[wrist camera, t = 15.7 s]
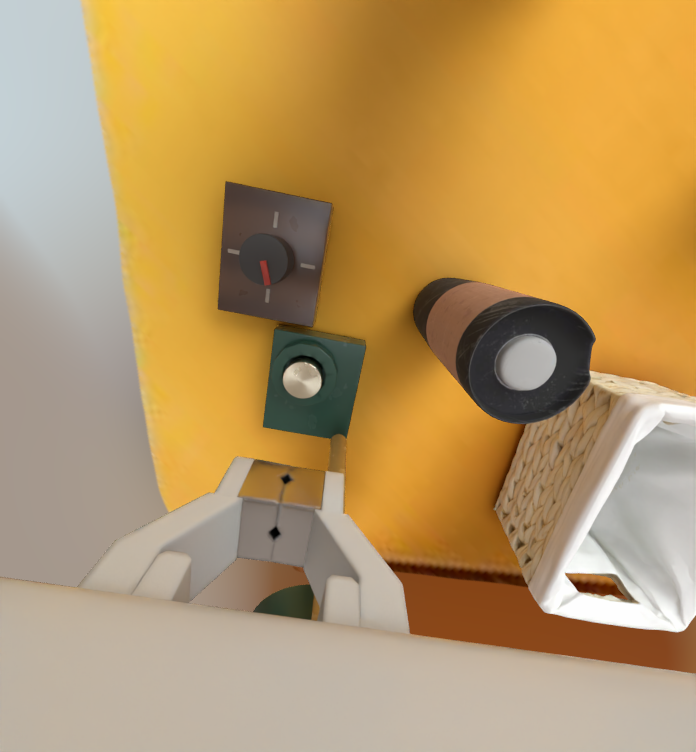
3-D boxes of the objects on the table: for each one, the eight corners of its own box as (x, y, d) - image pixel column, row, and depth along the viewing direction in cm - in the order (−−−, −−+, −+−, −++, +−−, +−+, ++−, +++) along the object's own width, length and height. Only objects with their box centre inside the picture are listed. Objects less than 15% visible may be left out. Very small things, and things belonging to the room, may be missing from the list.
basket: (547, 348, 40) (650, 400, 26) (678, 374, 41) (843, 437, 27) (481, 512, 48) (533, 617, 34) (591, 530, 49) (685, 640, 35)
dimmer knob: (244, 238, 34) (232, 237, 30) (289, 231, 33) (282, 229, 30) (254, 284, 35) (244, 288, 32) (297, 278, 35) (291, 282, 31)
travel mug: (396, 316, 39) (438, 378, 20) (443, 259, 37) (538, 270, 18) (445, 356, 41) (527, 448, 22) (493, 304, 39) (629, 357, 20)
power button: (288, 354, 37) (285, 358, 35) (325, 360, 37) (324, 366, 35) (283, 388, 38) (280, 395, 36) (319, 395, 38) (318, 401, 36)
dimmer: (235, 186, 35) (224, 180, 32) (333, 207, 35) (332, 203, 32) (227, 305, 39) (216, 309, 36) (315, 321, 40) (312, 327, 37)
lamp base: (279, 323, 40) (270, 332, 35) (365, 340, 40) (367, 350, 36) (267, 416, 44) (258, 435, 39) (346, 430, 44) (345, 449, 40)
